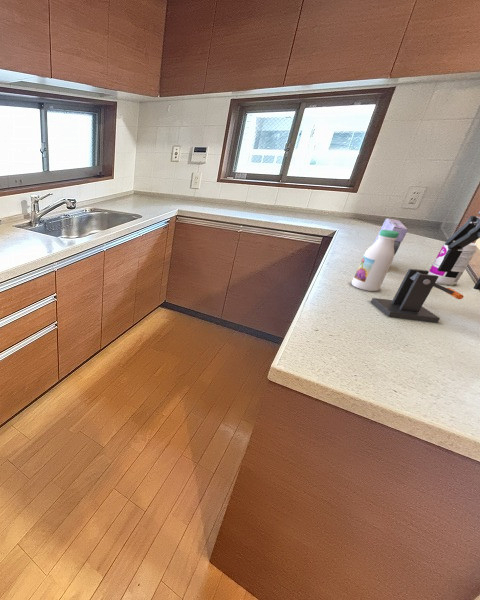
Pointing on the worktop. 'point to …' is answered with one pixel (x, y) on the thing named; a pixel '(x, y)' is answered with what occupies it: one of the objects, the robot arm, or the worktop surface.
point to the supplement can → (457, 269)
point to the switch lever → (443, 288)
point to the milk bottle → (376, 262)
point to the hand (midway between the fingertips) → (460, 280)
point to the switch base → (410, 298)
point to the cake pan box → (394, 226)
